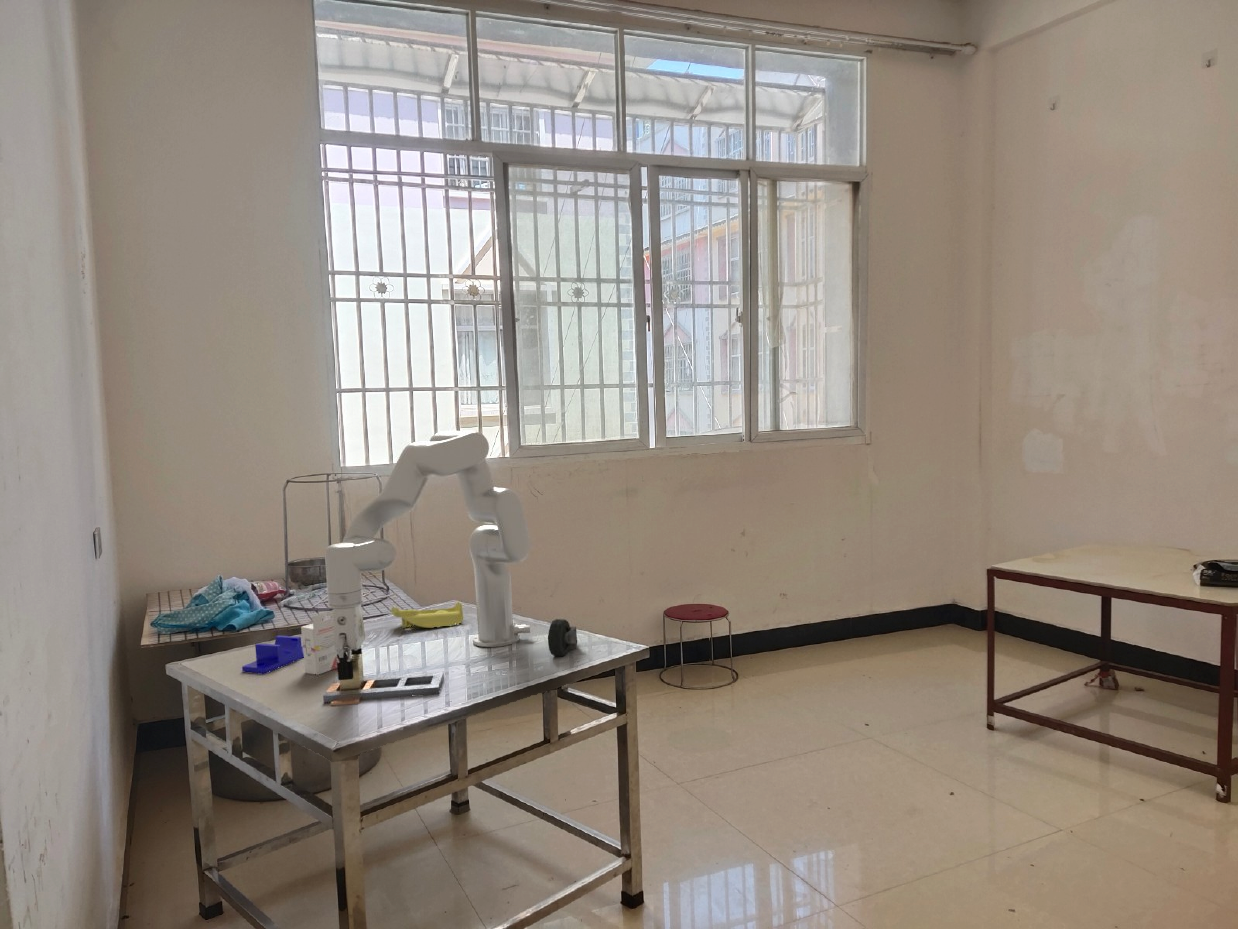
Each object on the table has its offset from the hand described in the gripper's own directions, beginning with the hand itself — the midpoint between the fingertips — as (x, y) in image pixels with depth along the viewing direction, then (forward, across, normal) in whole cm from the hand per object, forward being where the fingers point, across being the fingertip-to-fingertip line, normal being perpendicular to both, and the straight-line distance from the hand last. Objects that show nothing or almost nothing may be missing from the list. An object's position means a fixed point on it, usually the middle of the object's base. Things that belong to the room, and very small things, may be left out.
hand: (350, 672), depth 190 cm
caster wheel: (+5, +20, -49) cm, 53 cm away
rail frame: (+5, 0, -8) cm, 9 cm away
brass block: (+5, 0, 0) cm, 5 cm away
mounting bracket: (+5, +29, +24) cm, 38 cm away
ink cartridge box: (+5, +20, +11) cm, 23 cm away
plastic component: (+5, +57, -10) cm, 58 cm away
